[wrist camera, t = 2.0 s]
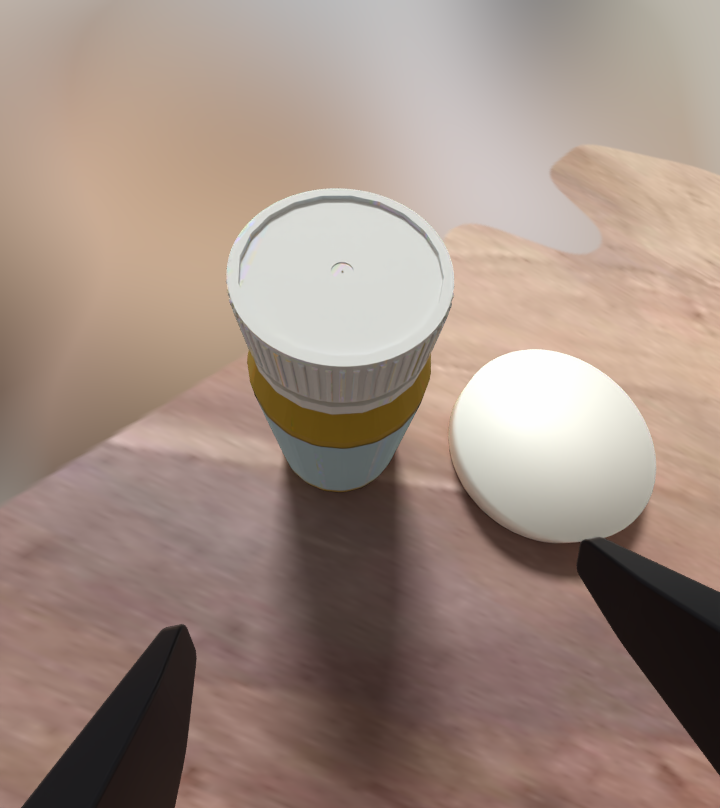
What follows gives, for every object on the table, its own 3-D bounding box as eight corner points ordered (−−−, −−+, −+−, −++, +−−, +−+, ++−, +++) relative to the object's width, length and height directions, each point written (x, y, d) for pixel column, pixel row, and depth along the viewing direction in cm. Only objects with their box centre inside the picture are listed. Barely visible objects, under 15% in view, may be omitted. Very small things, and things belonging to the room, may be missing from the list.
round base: (653, 423, 25) (678, 412, 24) (595, 586, 21) (620, 589, 19) (495, 335, 28) (507, 319, 26) (414, 469, 23) (421, 461, 21)
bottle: (356, 371, 26) (380, 151, 12) (414, 456, 24) (524, 308, 10) (264, 420, 24) (166, 227, 10) (317, 516, 22) (286, 438, 8)
